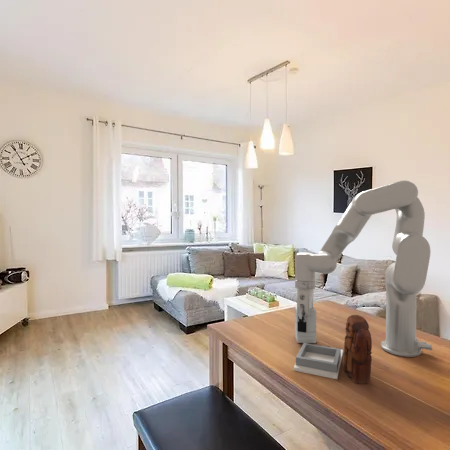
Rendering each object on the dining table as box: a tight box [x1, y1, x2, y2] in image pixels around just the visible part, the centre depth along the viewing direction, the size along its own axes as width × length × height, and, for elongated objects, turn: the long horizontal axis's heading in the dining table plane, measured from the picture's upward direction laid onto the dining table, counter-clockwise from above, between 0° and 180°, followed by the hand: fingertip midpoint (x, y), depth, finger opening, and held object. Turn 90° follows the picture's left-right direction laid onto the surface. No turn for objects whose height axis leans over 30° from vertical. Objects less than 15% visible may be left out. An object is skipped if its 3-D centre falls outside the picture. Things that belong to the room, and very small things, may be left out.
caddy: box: [293, 343, 344, 380], centre depth 104 cm, size 13×20×4 cm, turn 155°
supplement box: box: [294, 304, 317, 344], centre depth 122 cm, size 7×7×13 cm
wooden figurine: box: [343, 314, 373, 384], centre depth 95 cm, size 12×6×18 cm, turn 178°
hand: (304, 327), depth 122 cm, fingers open, 9 cm apart
